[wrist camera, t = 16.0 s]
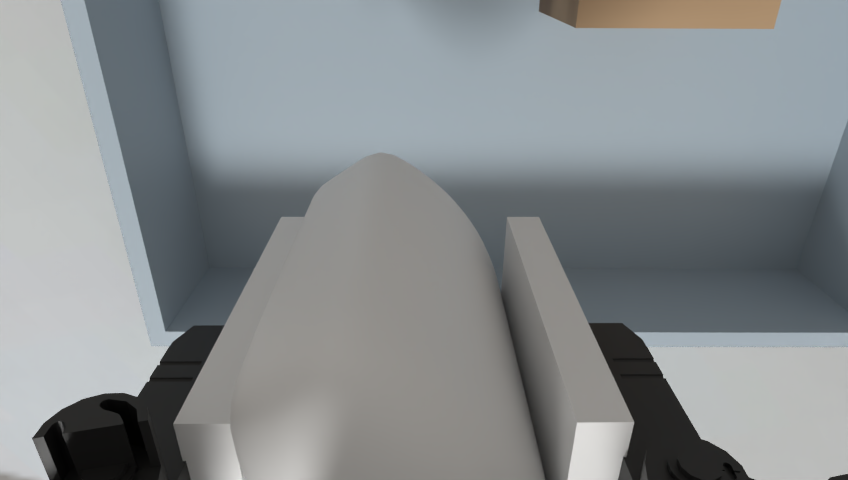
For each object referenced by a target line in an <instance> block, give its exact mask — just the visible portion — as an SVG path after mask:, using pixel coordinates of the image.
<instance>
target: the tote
mask: <svg viewBox="0 0 848 480" xmlns="http://www.w3.org/2000/svg"><path fill="white" fill-rule="evenodd" d="M61 3H62V7H63V11H64V15H65V19H66V22H67V26H68V30H69V34H70V38H71V42H72V45H73V49H74V53H75V57H76V61H77V64H78V68H79V72H80V76H81V80H82V83H83V87H84V91H85V95H86V99H87V103H88V106H89V110H90V114H91V118H92V122H93V125H94V129H95V133H96V137H97V141H98V145H99V148H100V152H101V156H102V160H103V164H104V167H105V171H106V175H107V179H108V183H109V186H110V190H111V194H112V198H113V202H114V206H115V209H116V213H117V217H118V221H119V225H120V228H121V232H122V236H123V240H124V244H125V247H126V251H127V255H128V259H129V263H130V267H131V270H132V274H133V278H134V282H135V286H136V289H137V293H138V297H139V301H140V305H141V309H142V312H143V316H144V320H145V324H146V328H147V331H148V335H149V339H150V343H151V346H170V345H171V343H172V342H173V341H174V340H176V339H177V338H178V337H180V336H181V335H182V334H183V333H185V332H186V331H187V330H189V329H190V328H191V327H193V326H194V325H225V324H226V322H227V320H228V318H229V316H230V314H231V312H232V310H233V308H234V307H235V305H236V303H237V301H238V299H239V297H240V295H241V293H242V291H243V289H244V287H245V285H246V284H247V282H248V280H249V278H250V276H251V274H252V272H253V270H254V268H255V266H256V264H257V263H258V261H259V259H260V257H261V255H262V253H263V251H264V249H265V247H266V245H267V243H268V242H269V240H270V238H271V236H272V234H273V232H274V230H275V228H276V226H277V224H278V222H279V220H280V219H281V217H305V214H306V212H307V210H308V207H309V205H310V203H311V201H312V198H313V197H314V195H315V194H316V192H317V191H318V190H319V189H320V187H321V186H322V185H324V184H325V183H326V182H328V181H329V180H331V179H332V178H333V177H335V176H337V175H338V174H340V173H341V172H343V171H344V170H346V169H347V168H349V167H350V166H352V165H353V164H355V163H356V162H358V161H360V160H361V159H363V158H365V157H366V156H369V155H372V154H376V153H379V152H382V153H387V154H392V155H395V156H397V157H399V158H400V159H402V160H404V161H406V162H408V163H409V164H411V165H412V166H414V167H415V168H417V169H418V170H420V171H421V172H422V173H424V174H425V175H426V176H428V177H429V178H430V179H431V180H433V181H434V182H435V183H436V184H437V185H439V186H440V187H441V188H442V189H443V190H444V191H445V192H446V193H447V194H448V195H449V196H450V197H451V198H452V199H453V200H454V201H455V202H456V203H457V205H458V206H459V207H460V208H461V209H462V210H463V212H464V213H465V214H466V216H467V217H468V218H469V220H470V221H471V223H472V224H473V226H474V227H475V229H476V230H477V232H478V234H479V236H480V238H481V239H482V241H483V243H484V245H485V247H486V250H487V252H488V254H489V256H490V259H491V262H492V264H493V267H494V270H495V273H496V276H497V280H498V284H499V288H500V292H501V287H502V274H503V261H504V248H505V235H506V223H507V217H539V218H540V220H541V222H542V225H543V227H544V229H545V231H546V233H547V235H548V237H549V240H550V242H551V244H552V246H553V248H554V250H555V252H556V255H557V257H558V259H559V261H560V263H561V265H562V268H563V270H564V272H565V274H566V276H567V278H568V280H569V283H570V285H571V287H572V289H573V291H574V293H575V296H576V298H577V300H578V302H579V304H580V306H581V308H582V311H583V313H584V315H585V317H586V319H587V321H588V323H623V324H624V325H625V326H626V327H628V328H629V329H630V330H631V331H633V332H634V333H635V334H636V335H638V336H639V337H640V338H641V339H642V340H643V341H644V343H645V345H646V346H647V347H848V0H781V4H780V8H779V12H778V15H777V19H776V23H775V27H774V29H665V28H574V27H572V26H570V25H568V24H566V23H563V22H561V21H559V20H557V19H554V18H552V17H550V16H548V15H546V14H543V13H541V12H539V3H540V0H61Z"/></svg>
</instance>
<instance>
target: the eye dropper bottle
mask: <svg viewBox="0 0 848 480" xmlns="http://www.w3.org/2000/svg"><path fill="white" fill-rule="evenodd" d="M230 430H231V434H232V438H233V442H234V446H235V450H236V454H237V458H238V461H239V464H240V466H241V469H242V472H243V475H244V477H245V480H546V478H545V474H544V470H543V465H542V461H541V457H540V452H539V448H538V444H537V440H536V436H535V431H534V427H533V423H532V419H531V415H530V411H529V407H528V403H527V398H526V394H525V390H524V386H523V382H522V378H521V373H520V369H519V365H518V361H517V357H516V353H515V349H514V345H513V341H512V337H511V333H510V328H509V324H508V320H507V316H506V312H505V308H504V304H503V300H502V296H501V292H500V288H499V284H498V280H497V276H496V273H495V270H494V267H493V264H492V262H491V259H490V256H489V254H488V252H487V250H486V247H485V245H484V243H483V241H482V239H481V238H480V236H479V234H478V232H477V230H476V229H475V227H474V226H473V224H472V223H471V221H470V220H469V218H468V217H467V216H466V214H465V213H464V212H463V210H462V209H461V208H460V207H459V206H458V205H457V203H456V202H455V201H454V200H453V199H452V198H451V197H450V196H449V195H448V194H447V193H446V192H445V191H444V190H443V189H442V188H441V187H440V186H439V185H437V184H436V183H435V182H434V181H433V180H431V179H430V178H429V177H428V176H426V175H425V174H424V173H422V172H421V171H420V170H418V169H417V168H415V167H414V166H412V165H411V164H409V163H408V162H406V161H404V160H402V159H400V158H399V157H397V156H395V155H392V154H387V153H382V152H379V153H376V154H372V155H369V156H366V157H365V158H363V159H361V160H360V161H358V162H356V163H355V164H353V165H352V166H350V167H349V168H347V169H346V170H344V171H343V172H341V173H340V174H338V175H337V176H335V177H333V178H332V179H331V180H329V181H328V182H326V183H325V184H324V185H322V186H321V187H320V189H319V190H318V191H317V192H316V194H315V195H314V197H313V198H312V201H311V203H310V205H309V207H308V210H307V212H306V214H305V217H304V219H303V221H302V224H301V226H300V228H299V230H298V233H297V235H296V237H295V240H294V242H293V244H292V247H291V249H290V251H289V254H288V256H287V258H286V260H285V263H284V265H283V267H282V270H281V272H280V275H279V277H278V279H277V282H276V284H275V286H274V289H273V291H272V293H271V296H270V298H269V300H268V303H267V305H266V308H265V310H264V312H263V315H262V317H261V319H260V322H259V324H258V326H257V329H256V331H255V334H254V336H253V339H252V341H251V344H250V346H249V349H248V352H247V354H246V357H245V359H244V362H243V365H242V367H241V370H240V372H239V375H238V378H237V380H236V383H235V387H234V392H233V396H232V400H231V413H230Z"/></svg>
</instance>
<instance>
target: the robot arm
mask: <svg viewBox="0 0 848 480" xmlns="http://www.w3.org/2000/svg"><path fill="white" fill-rule="evenodd" d="M303 219H304V217H281V219H280V220H279V222H278V224H277V226H276V228H275V230H274V232H273V234H272V236H271V238H270V240H269V242H268V243H267V245H266V247H265V249H264V251H263V253H262V255H261V257H260V259H259V261H258V263H257V264H256V266H255V268H254V270H253V272H252V274H251V276H250V278H249V280H248V282H247V284H246V285H245V287H244V289H243V291H242V293H241V295H240V297H239V299H238V301H237V303H236V305H235V307H234V308H233V310H232V312H231V314H230V316H229V318H228V320H227V322H226V324H225V325H194V326H193V327H191V328H190V329H189V330H187V331H186V332H185V333H183V334H182V335H181V336H180V337H178V338H177V339H176V340H174V341H173V342H172V343H171V345H170V347H169V348H168V350H167V351H166V353H165V355H164V356H163V358H162V359H161V361H160V365H158V366H157V367H156V369H155V370H154V372H153V373H152V375H151V377H150V381H149V382H147V383H146V384H145V386H144V388H143V389H142V391H141V392H140V394H139V395H138V397H135V396H132V395H129V394H125V393H110V394H101V395H97V396H94V397H90V398H86V399H83V400H80V401H78V402H76V403H74V404H72V405H70V406H68V407H66V408H64V409H62V410H60V411H59V412H58V413H57V414H55V415H54V416H53V417H51V418H50V419H49V420H47V421H46V422H45V423H44V424H43V425H42V426H41V428H40V429H39V430H38V432H37V433H36V434H35V436H34V437H33V438H32V439H33V441H34V444H35V446H36V449H37V451H38V453H39V456H40V458H41V460H42V463H43V465H44V468H45V470H46V472H47V475H48V477H49V480H245V477H244V475H243V472H242V469H241V466H240V464H239V461H238V458H237V454H236V450H235V446H234V442H233V438H232V434H231V430H230V413H231V400H232V396H233V392H234V387H235V383H236V380H237V378H238V375H239V372H240V370H241V367H242V365H243V362H244V359H245V357H246V354H247V352H248V349H249V346H250V344H251V341H252V339H253V336H254V334H255V331H256V329H257V326H258V324H259V322H260V319H261V317H262V315H263V312H264V310H265V308H266V305H267V303H268V300H269V298H270V296H271V293H272V291H273V289H274V286H275V284H276V282H277V279H278V277H279V275H280V272H281V270H282V267H283V265H284V263H285V260H286V258H287V256H288V254H289V251H290V249H291V247H292V244H293V242H294V240H295V237H296V235H297V233H298V230H299V228H300V226H301V224H302V221H303ZM501 296H502V300H503V304H504V308H505V312H506V316H507V320H508V324H509V328H510V333H511V337H512V341H513V345H514V349H515V353H516V357H517V361H518V365H519V369H520V373H521V378H522V382H523V386H524V390H525V394H526V398H527V403H528V407H529V411H530V415H531V419H532V423H533V427H534V431H535V436H536V440H537V444H538V448H539V452H540V457H541V461H542V465H543V470H544V474H545V478H546V480H754V479H751V478H749V477H748V475H747V474H746V472H745V470H744V469H743V467H742V465H740V464H739V463H738V462H737V461H736V460H735V459H734V458H733V457H732V456H731V455H729V454H728V453H727V452H726V451H724V450H722V449H721V448H719V447H717V446H715V445H713V444H712V443H710V442H708V441H705V440H701V439H700V437H699V435H698V433H697V432H696V430H695V428H694V427H693V425H692V423H691V421H690V420H689V418H688V416H687V415H686V413H685V411H684V410H683V408H682V406H681V404H680V403H679V401H678V399H677V398H676V396H675V394H674V392H673V391H672V389H671V387H670V386H669V384H668V382H667V381H666V379H665V378H663V374H662V372H661V370H660V369H659V367H658V365H657V363H656V362H654V360H653V359H654V358H653V357H652V355H651V353H650V352H649V350H648V348H647V346H646V345H645V343H644V341H643V340H642V339H641V338H640V337H639V336H638V335H636V334H635V333H634V332H633V331H631V330H630V329H629V328H628V327H626V326H625V325H624V324H623V323H588V321H587V319H586V317H585V315H584V313H583V311H582V308H581V306H580V304H579V302H578V300H577V298H576V296H575V293H574V291H573V289H572V287H571V285H570V283H569V280H568V278H567V276H566V274H565V272H564V270H563V268H562V265H561V263H560V261H559V259H558V257H557V255H556V252H555V250H554V248H553V246H552V244H551V242H550V240H549V237H548V235H547V233H546V231H545V229H544V227H543V225H542V222H541V220H540V218H539V217H507V223H506V235H505V248H504V261H503V274H502V287H501ZM828 480H848V474H845V475H840V476H836V477H831V478H829V479H828Z"/></svg>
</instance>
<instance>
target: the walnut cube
mask: <svg viewBox="0 0 848 480" xmlns="http://www.w3.org/2000/svg"><path fill="white" fill-rule="evenodd" d="M780 4H781V0H540V3H539V12H541V13H543V14H546V15H548V16H550V17H552V18H554V19H557V20H559V21H561V22H563V23H566V24H568V25H570V26H572V27H574V28H665V29H774V27H775V23H776V19H777V15H778V12H779V8H780Z"/></svg>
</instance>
